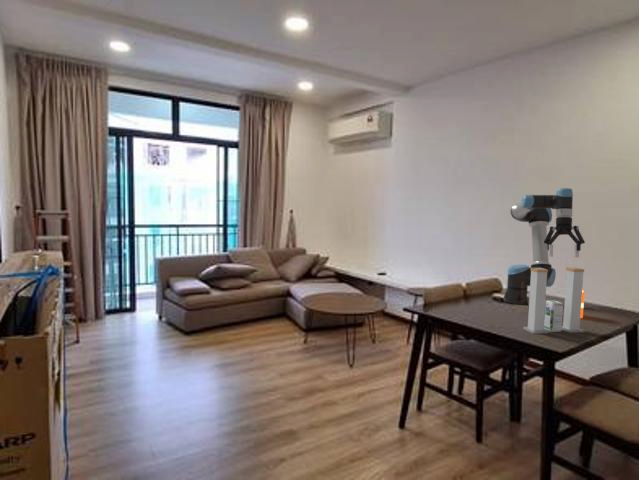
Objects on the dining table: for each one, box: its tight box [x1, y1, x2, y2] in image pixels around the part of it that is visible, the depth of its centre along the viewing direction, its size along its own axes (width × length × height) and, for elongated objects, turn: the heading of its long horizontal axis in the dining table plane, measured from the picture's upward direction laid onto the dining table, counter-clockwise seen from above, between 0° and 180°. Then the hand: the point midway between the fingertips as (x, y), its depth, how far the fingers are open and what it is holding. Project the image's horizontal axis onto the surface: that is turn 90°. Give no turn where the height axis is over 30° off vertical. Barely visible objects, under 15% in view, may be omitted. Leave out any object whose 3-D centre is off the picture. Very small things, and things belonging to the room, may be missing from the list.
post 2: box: [561, 267, 585, 334], centre depth 208 cm, size 8×8×31 cm
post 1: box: [522, 267, 549, 335], centre depth 206 cm, size 8×8×31 cm
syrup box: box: [544, 299, 564, 333], centre depth 208 cm, size 6×6×14 cm
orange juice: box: [580, 288, 585, 319], centre depth 235 cm, size 8×9×20 cm
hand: (563, 256), depth 225 cm, fingers open, 13 cm apart
